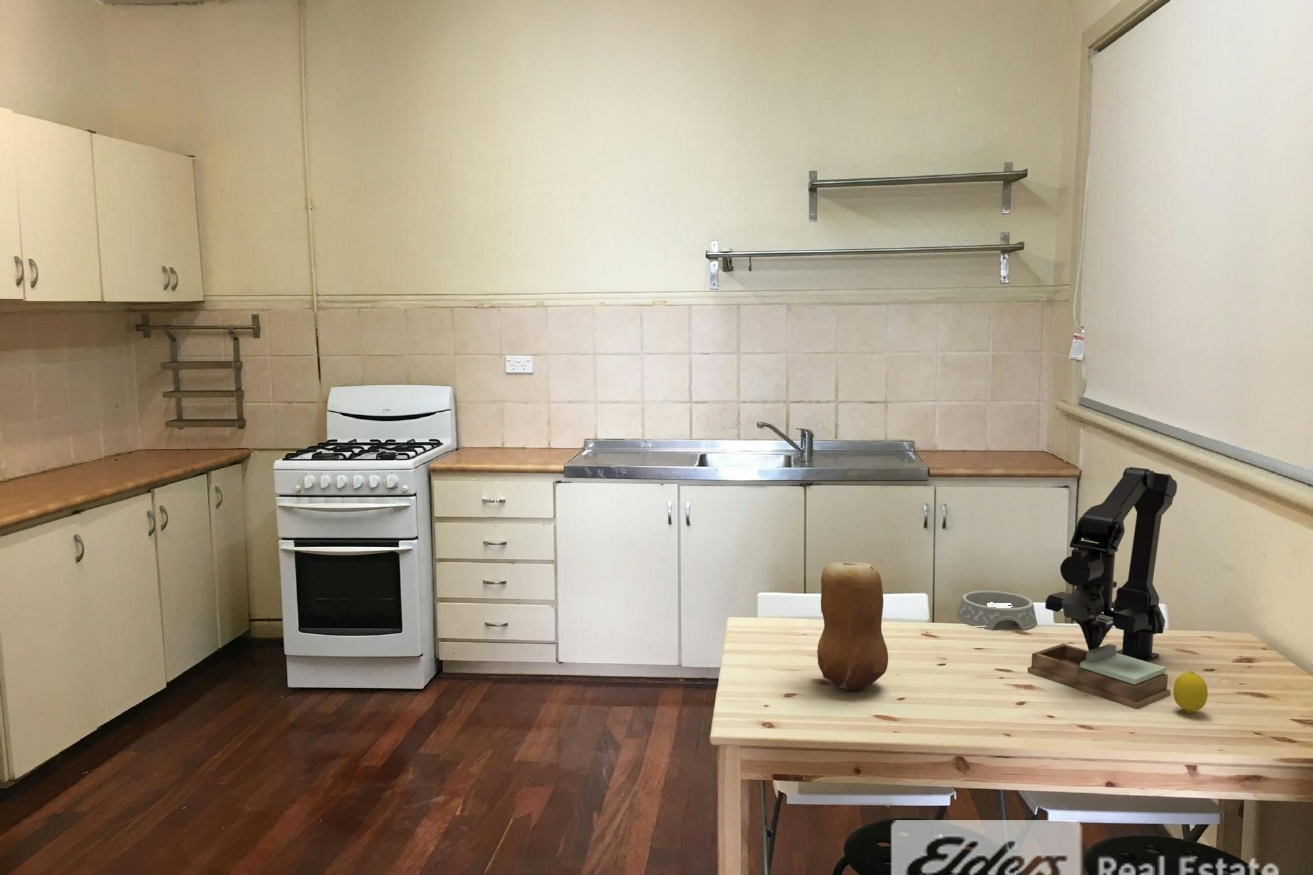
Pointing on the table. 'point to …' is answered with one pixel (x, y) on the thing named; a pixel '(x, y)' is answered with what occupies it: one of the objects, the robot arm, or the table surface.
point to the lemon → (1190, 691)
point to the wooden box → (1094, 677)
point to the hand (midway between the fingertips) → (1092, 653)
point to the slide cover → (1120, 665)
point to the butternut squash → (852, 625)
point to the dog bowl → (996, 610)
